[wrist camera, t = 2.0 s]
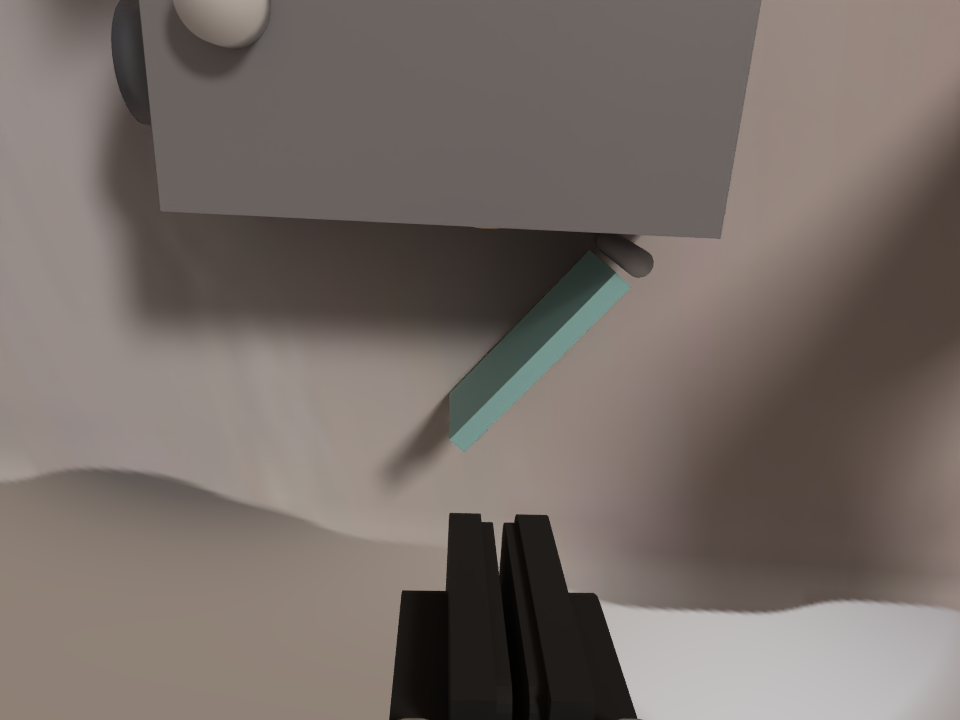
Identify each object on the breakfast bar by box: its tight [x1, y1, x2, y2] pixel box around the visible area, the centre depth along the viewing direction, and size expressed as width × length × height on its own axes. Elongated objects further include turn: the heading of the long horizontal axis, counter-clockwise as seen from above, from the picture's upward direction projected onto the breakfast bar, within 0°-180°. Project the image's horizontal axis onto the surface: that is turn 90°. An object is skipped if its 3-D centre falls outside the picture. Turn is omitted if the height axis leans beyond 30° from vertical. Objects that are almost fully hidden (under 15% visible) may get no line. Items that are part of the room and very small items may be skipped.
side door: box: [449, 233, 653, 452], centre depth 27 cm, size 10×2×5 cm, turn 137°
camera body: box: [111, 0, 761, 239], centre depth 23 cm, size 20×10×8 cm, turn 87°
